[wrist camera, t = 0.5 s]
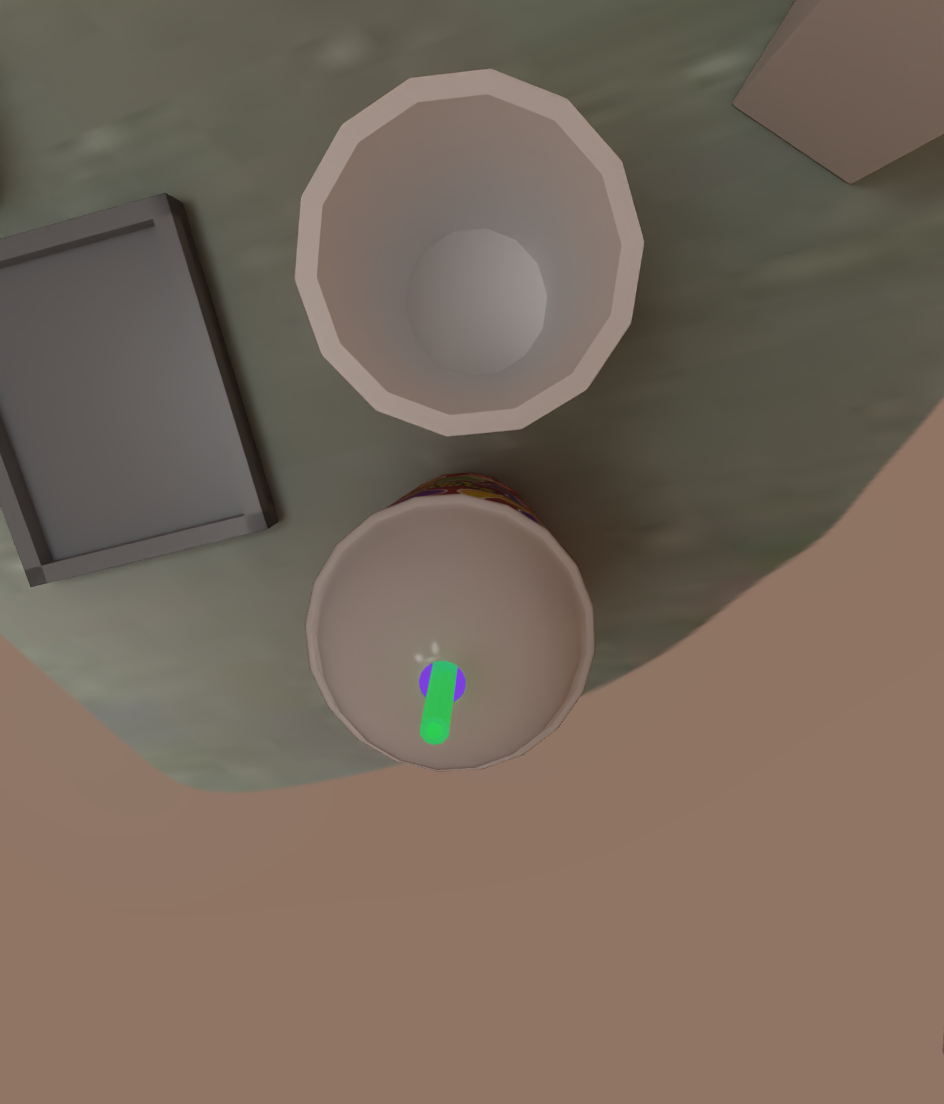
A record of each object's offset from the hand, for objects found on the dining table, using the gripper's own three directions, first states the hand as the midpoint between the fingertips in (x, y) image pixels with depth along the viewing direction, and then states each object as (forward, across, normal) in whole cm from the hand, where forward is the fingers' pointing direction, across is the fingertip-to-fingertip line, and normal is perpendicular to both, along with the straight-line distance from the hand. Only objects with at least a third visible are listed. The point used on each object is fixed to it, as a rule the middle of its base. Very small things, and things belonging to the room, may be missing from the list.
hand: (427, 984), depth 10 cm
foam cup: (+28, +1, +10) cm, 29 cm away
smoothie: (+27, 0, 0) cm, 27 cm away
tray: (+27, -15, +7) cm, 32 cm away
